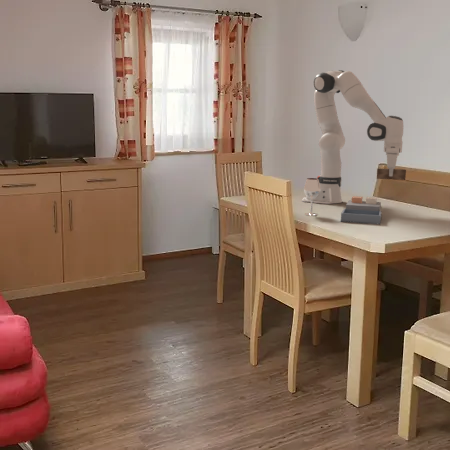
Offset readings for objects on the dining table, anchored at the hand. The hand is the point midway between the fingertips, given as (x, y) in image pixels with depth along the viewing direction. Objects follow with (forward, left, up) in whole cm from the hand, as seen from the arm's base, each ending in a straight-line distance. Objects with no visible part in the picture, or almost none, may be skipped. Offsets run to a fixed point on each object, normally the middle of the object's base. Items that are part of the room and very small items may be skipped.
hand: (390, 175), depth 311 cm
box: (-12, -28, -19) cm, 35 cm away
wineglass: (-37, -21, -19) cm, 47 cm away
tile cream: (-8, -11, -13) cm, 19 cm away
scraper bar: (0, 0, -2) cm, 2 cm away
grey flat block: (-12, -14, -19) cm, 26 cm away
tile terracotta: (-15, -11, -13) cm, 23 cm away
